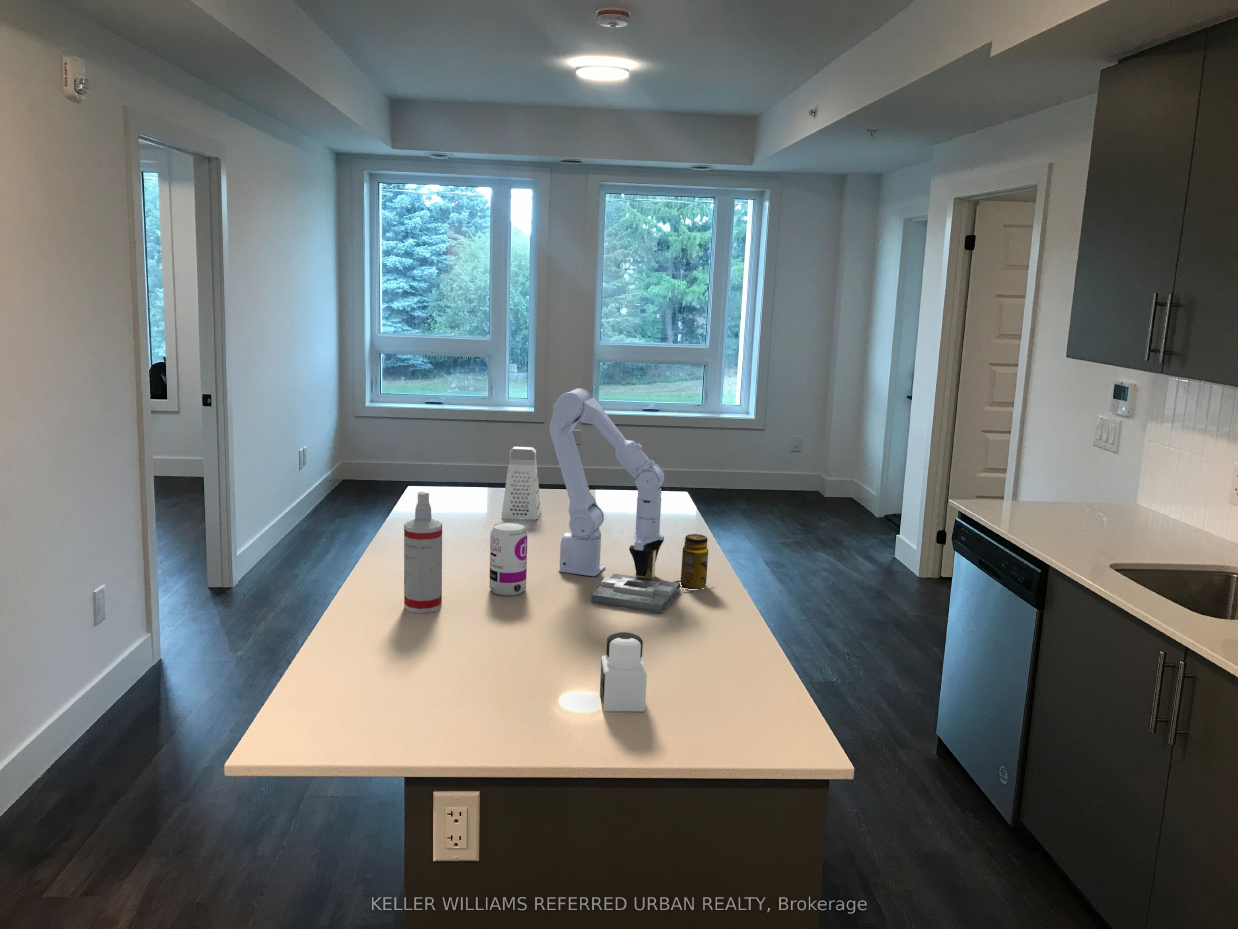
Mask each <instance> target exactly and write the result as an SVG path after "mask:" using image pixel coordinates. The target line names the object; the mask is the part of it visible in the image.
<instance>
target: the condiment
mask: <svg viewBox="0 0 1238 929" xmlns="http://www.w3.org/2000/svg"><path fill="white" fill-rule="evenodd" d="M681 556H682V557H681V571H680V580H675V581H673V582H677V583H679V582H681V585H682V587H681V586H680V587H681V588H688V589H701V590H700V591H702V590H707V589H712V588H714V586H712V585H710V584H708V583H707V577H708V564H709V563H708V561H709V548H708V537H707V536H705V535H704V534H698V533H691V534H690V533H689V534H686V535H685V538H684V545H683V547H682V555H681ZM702 588H704V589H702ZM705 588H707V589H705ZM688 589H685V590H684V589H680V591H681V592H683V593H690V592H695V591H696V590H688Z"/></svg>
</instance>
